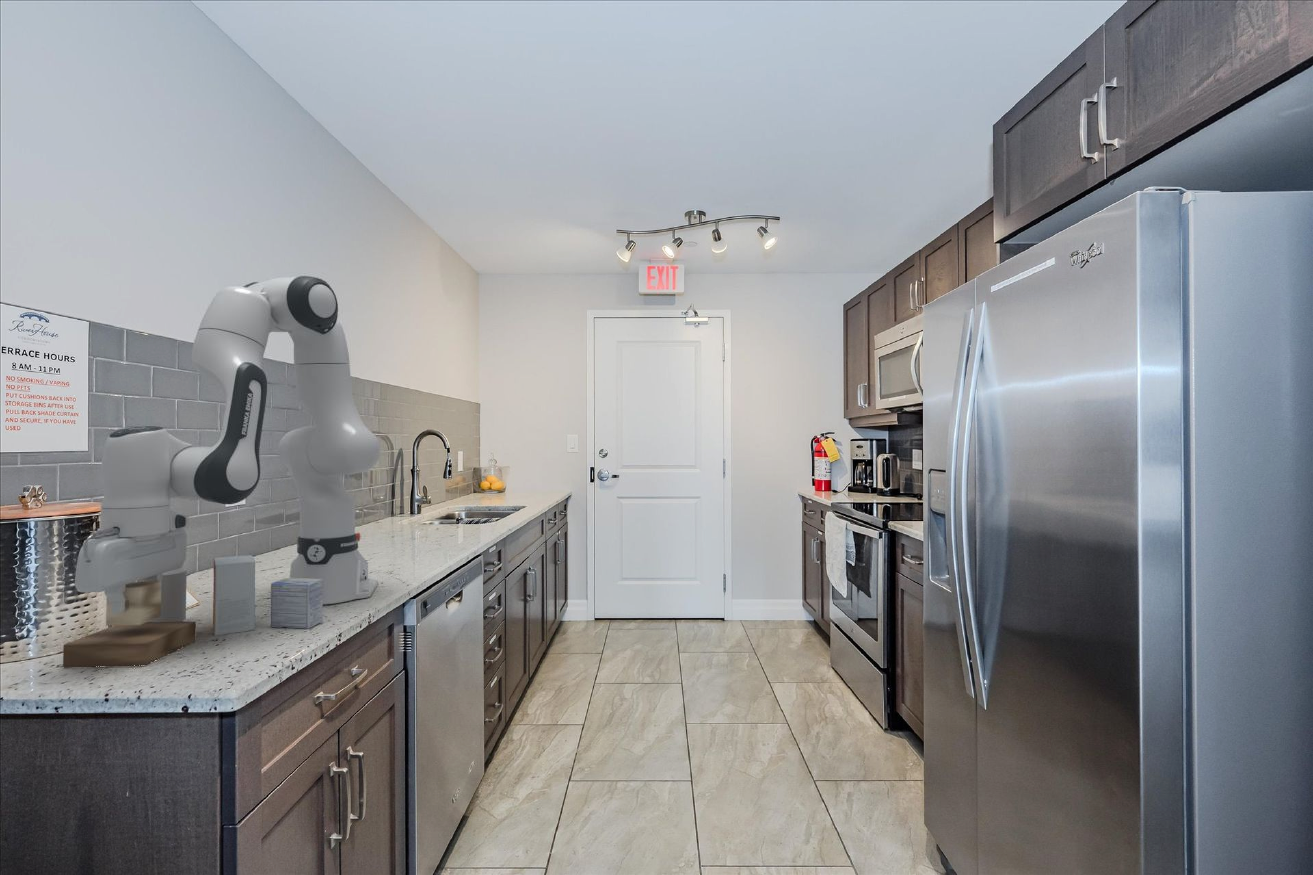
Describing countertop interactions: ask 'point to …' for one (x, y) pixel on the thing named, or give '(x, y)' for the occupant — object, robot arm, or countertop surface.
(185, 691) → the countertop surface
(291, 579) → the medicine box
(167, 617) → the can
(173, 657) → the countertop surface
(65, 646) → the walnut block
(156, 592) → the maple block
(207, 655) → the countertop surface
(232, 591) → the small box
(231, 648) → the countertop surface
